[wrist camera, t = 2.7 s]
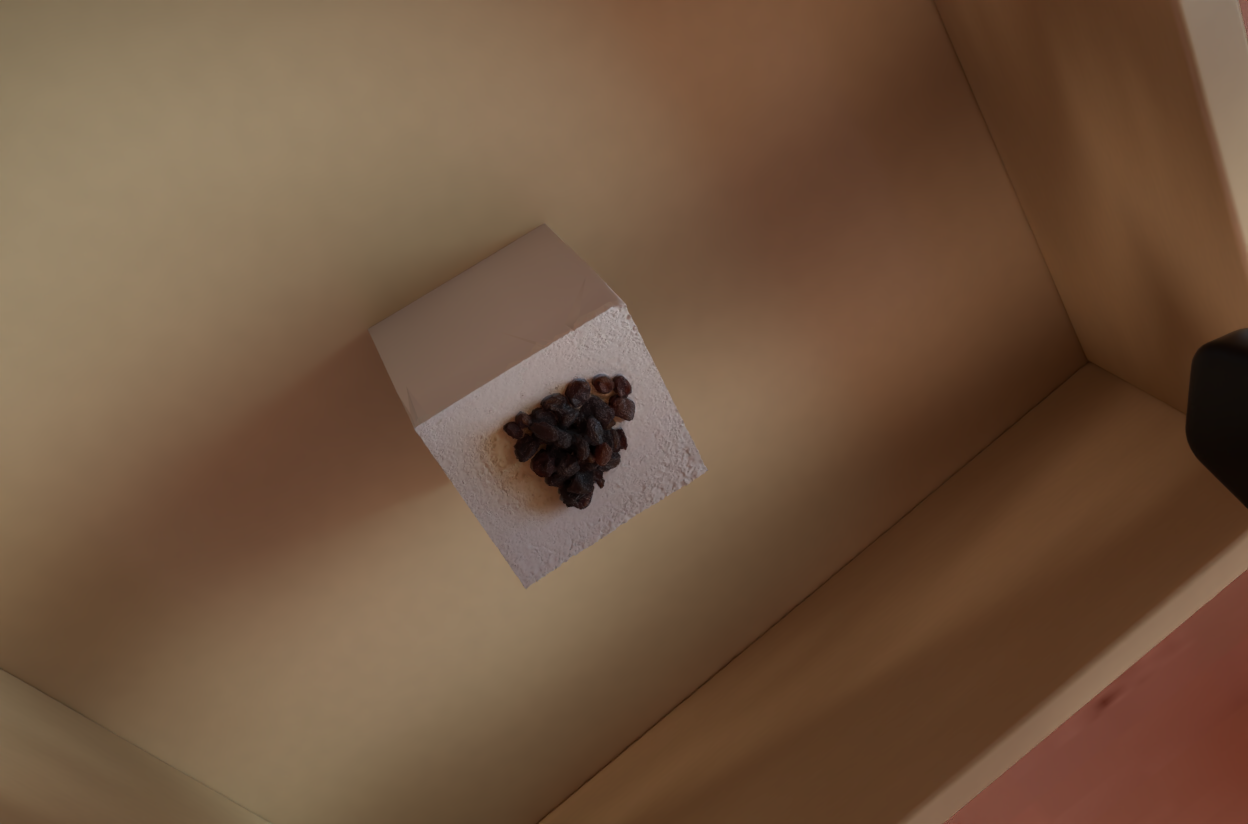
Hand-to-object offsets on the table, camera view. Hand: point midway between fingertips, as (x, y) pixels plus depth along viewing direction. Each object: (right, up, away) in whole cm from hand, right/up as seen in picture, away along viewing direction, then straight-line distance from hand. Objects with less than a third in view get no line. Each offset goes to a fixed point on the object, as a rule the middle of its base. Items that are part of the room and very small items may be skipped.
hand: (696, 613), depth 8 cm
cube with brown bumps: (-2, +2, +4) cm, 5 cm away
